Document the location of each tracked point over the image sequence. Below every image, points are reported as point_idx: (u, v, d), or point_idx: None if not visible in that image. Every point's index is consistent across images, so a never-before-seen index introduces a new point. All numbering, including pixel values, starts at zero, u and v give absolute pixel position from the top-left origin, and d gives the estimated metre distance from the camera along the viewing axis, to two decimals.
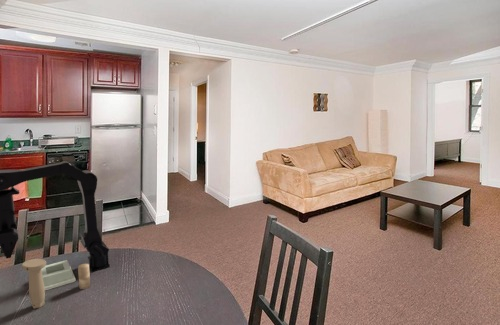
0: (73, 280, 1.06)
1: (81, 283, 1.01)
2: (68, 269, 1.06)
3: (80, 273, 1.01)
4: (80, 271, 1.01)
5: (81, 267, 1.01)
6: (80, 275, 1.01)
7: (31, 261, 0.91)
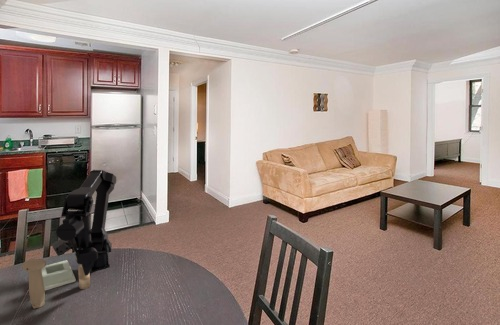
0: (73, 280, 1.06)
1: (81, 283, 1.01)
2: (68, 269, 1.06)
3: (80, 273, 1.01)
4: (80, 271, 1.01)
5: (81, 267, 1.01)
6: (80, 275, 1.01)
7: (31, 261, 0.91)
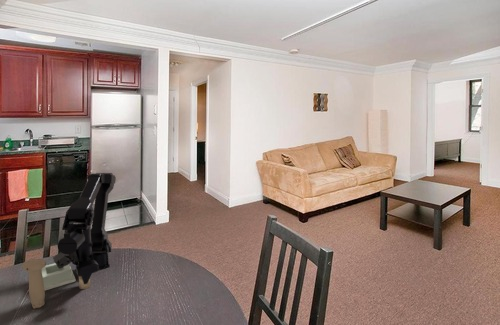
0: (73, 280, 1.06)
1: (81, 283, 1.01)
2: (68, 269, 1.06)
3: None
4: None
5: None
6: None
7: (31, 261, 0.91)
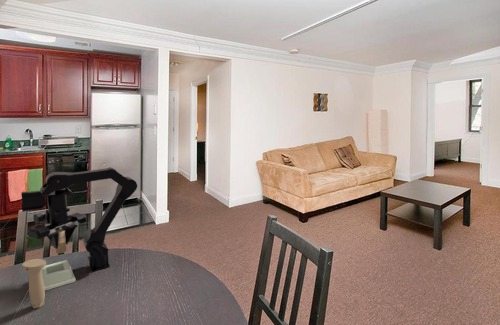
0: (73, 280, 1.06)
1: None
2: (68, 269, 1.06)
3: None
4: None
5: None
6: None
7: (31, 261, 0.91)
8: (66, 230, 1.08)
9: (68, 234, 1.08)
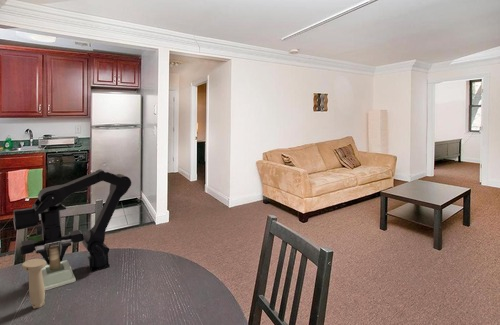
0: (73, 280, 1.06)
1: None
2: (68, 269, 1.06)
3: None
4: None
5: (50, 247, 1.05)
6: None
7: (31, 261, 0.91)
8: (60, 247, 1.06)
9: (61, 252, 1.05)
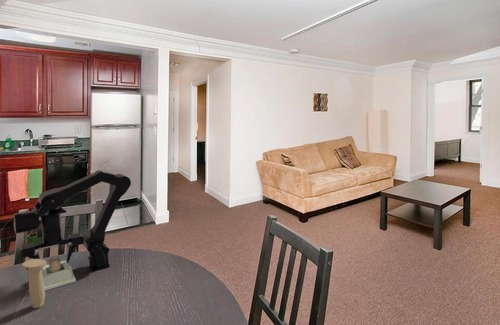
0: (73, 280, 1.06)
1: None
2: (68, 269, 1.06)
3: None
4: None
5: (51, 259, 1.06)
6: None
7: (31, 261, 0.91)
8: (67, 249, 1.07)
9: (68, 253, 1.07)
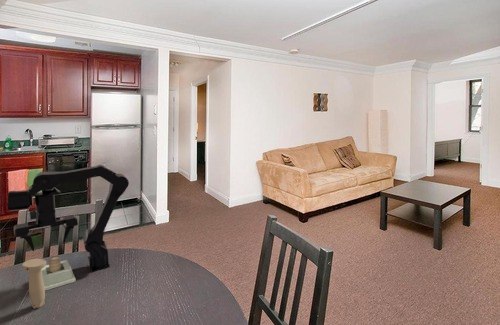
0: (73, 280, 1.06)
1: None
2: (68, 269, 1.06)
3: None
4: None
5: (51, 259, 1.06)
6: None
7: (31, 261, 0.91)
8: (63, 230, 1.08)
9: (64, 234, 1.08)
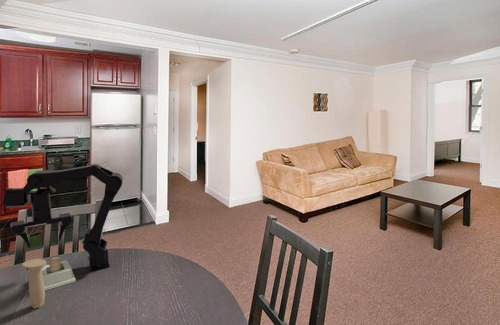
0: (73, 280, 1.06)
1: None
2: (68, 269, 1.06)
3: None
4: None
5: (51, 259, 1.06)
6: None
7: (31, 261, 0.91)
8: (59, 227, 1.11)
9: (59, 232, 1.10)
